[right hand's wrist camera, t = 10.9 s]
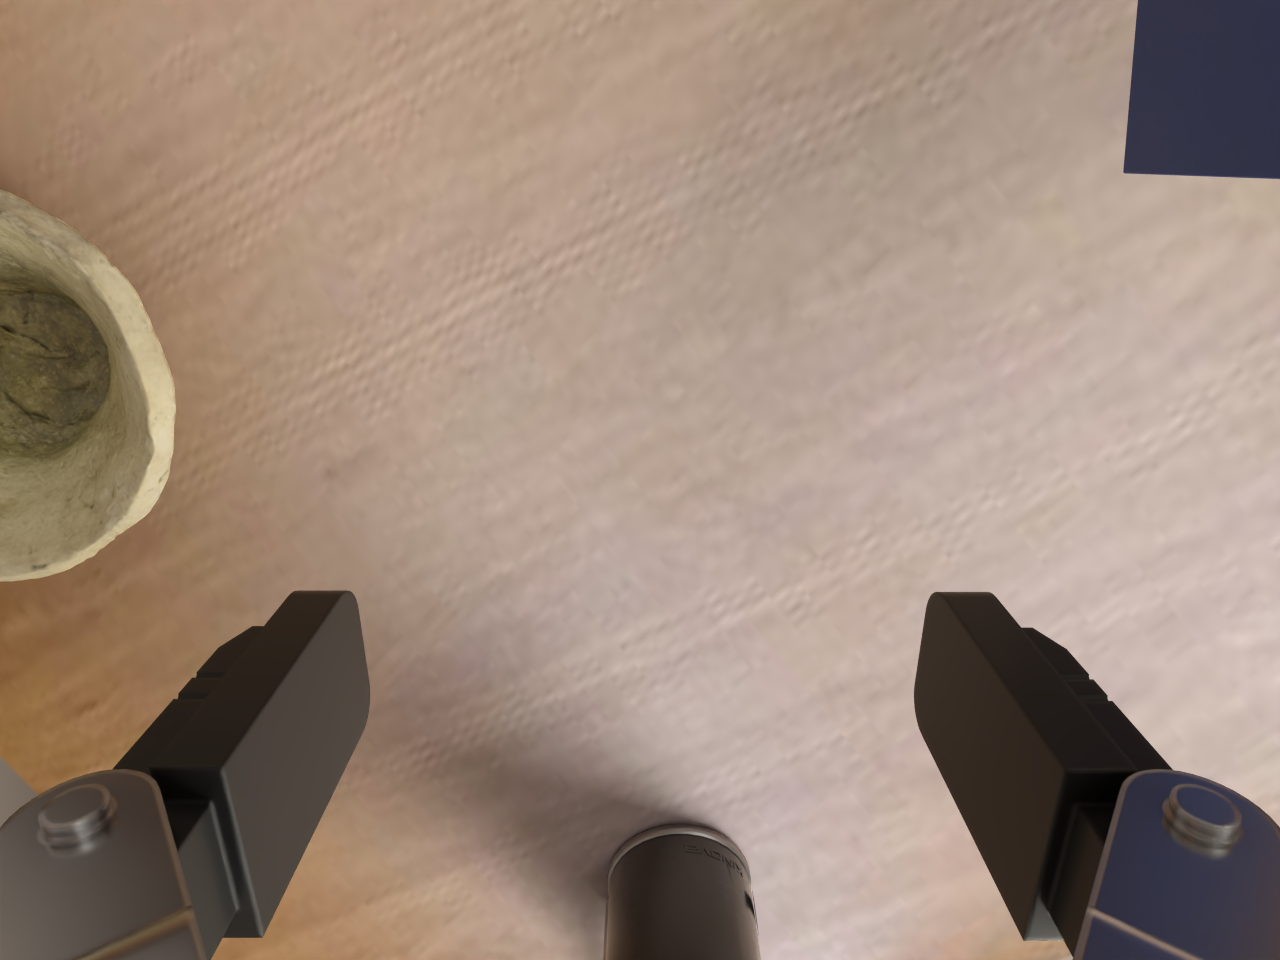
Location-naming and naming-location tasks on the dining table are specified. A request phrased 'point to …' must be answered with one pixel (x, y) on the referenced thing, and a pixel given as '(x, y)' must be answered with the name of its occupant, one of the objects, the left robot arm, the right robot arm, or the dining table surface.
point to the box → (1205, 89)
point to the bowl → (73, 397)
